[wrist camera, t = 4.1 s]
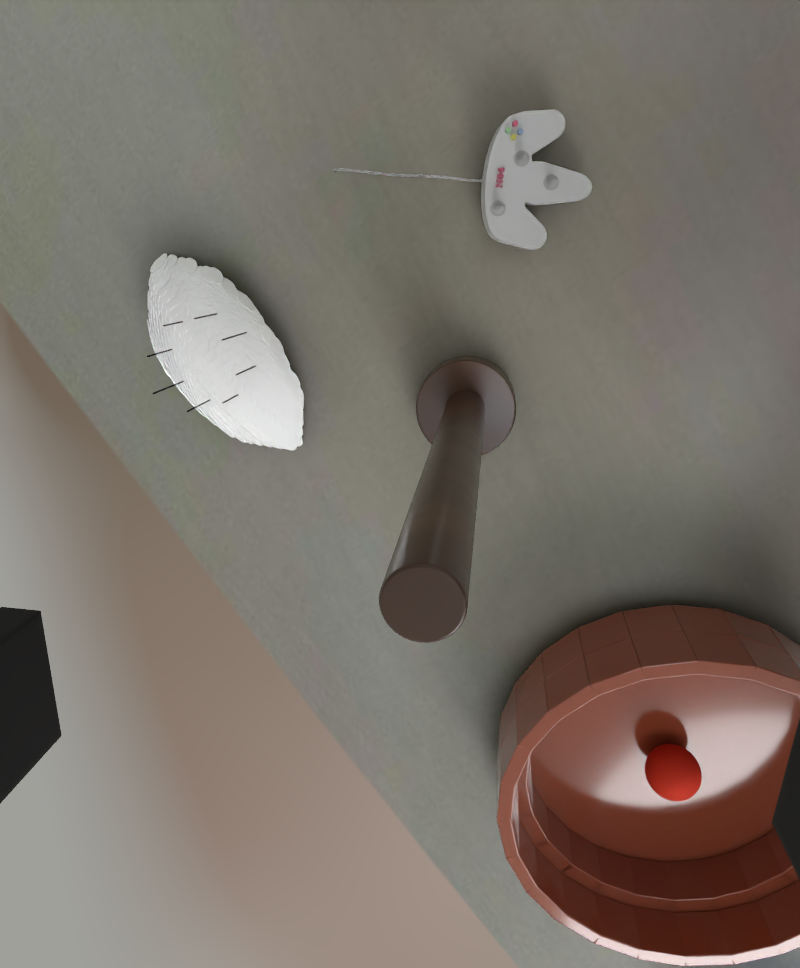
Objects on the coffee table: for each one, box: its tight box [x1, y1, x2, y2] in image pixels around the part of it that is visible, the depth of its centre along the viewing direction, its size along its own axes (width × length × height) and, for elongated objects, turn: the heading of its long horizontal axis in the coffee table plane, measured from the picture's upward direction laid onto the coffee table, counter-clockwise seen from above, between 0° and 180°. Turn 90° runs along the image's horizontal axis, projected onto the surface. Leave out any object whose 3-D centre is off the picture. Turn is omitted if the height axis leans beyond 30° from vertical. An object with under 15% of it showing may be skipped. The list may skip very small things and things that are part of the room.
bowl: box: [497, 605, 800, 966], centre depth 37 cm, size 20×20×6 cm
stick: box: [379, 356, 516, 643], centre depth 25 cm, size 5×5×22 cm
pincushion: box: [147, 254, 304, 451], centre depth 33 cm, size 12×6×6 cm, turn 35°
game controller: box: [333, 110, 592, 250], centre depth 31 cm, size 6×12×3 cm, turn 103°
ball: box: [645, 744, 702, 801], centre depth 38 cm, size 3×3×3 cm
